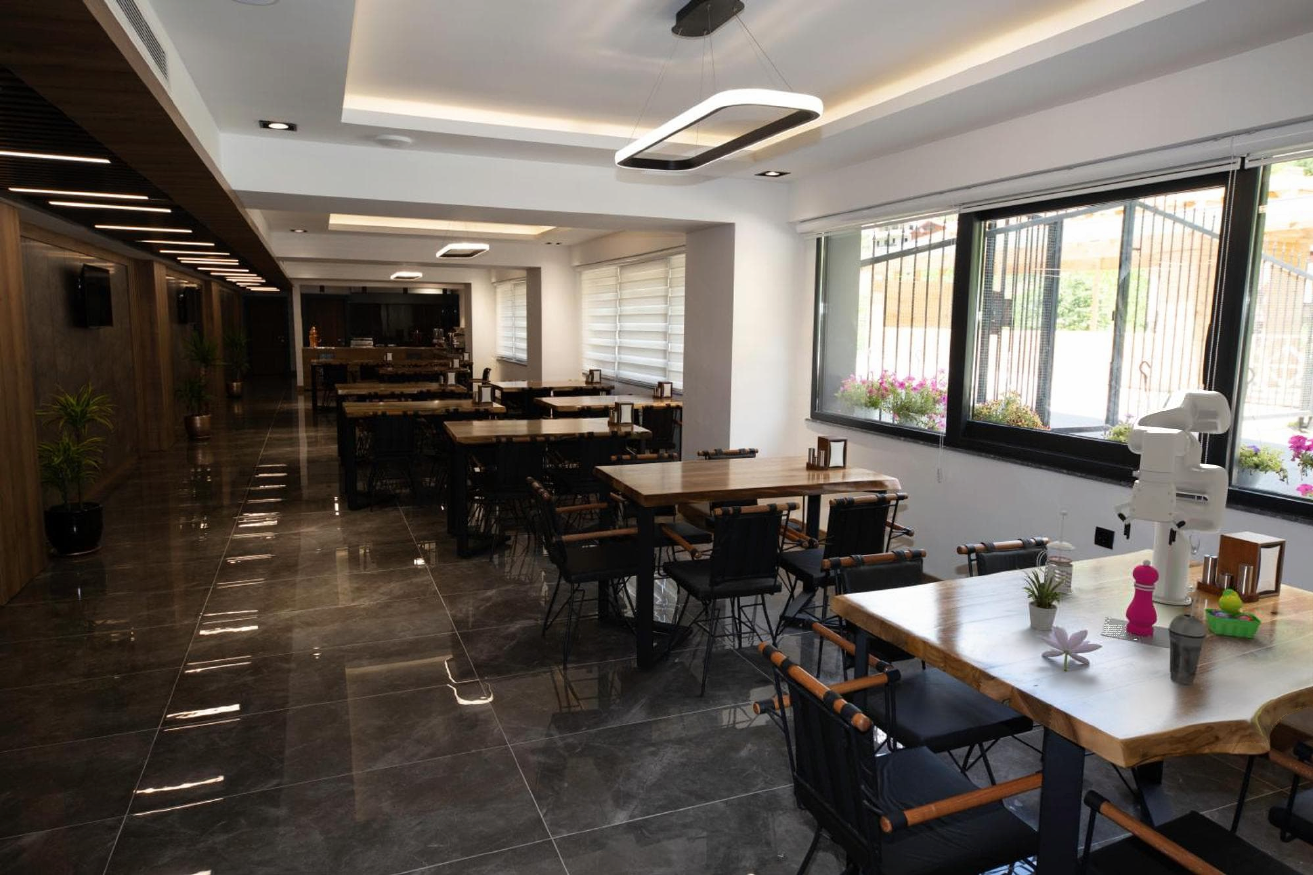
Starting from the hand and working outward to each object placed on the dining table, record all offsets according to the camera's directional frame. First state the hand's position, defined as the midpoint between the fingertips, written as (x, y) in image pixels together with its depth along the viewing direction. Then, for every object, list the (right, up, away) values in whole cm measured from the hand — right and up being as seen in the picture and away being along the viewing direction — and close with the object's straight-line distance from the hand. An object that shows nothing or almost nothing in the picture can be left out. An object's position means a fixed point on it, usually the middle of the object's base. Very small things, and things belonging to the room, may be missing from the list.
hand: (1148, 541), depth 214 cm
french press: (-5, -20, +41) cm, 46 cm away
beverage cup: (-9, -29, -27) cm, 41 cm away
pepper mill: (0, -25, +3) cm, 25 cm away
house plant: (-27, -24, +6) cm, 37 cm away
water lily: (-31, -27, -20) cm, 46 cm away
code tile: (0, -25, +3) cm, 25 cm away
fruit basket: (+25, -26, +6) cm, 37 cm away
